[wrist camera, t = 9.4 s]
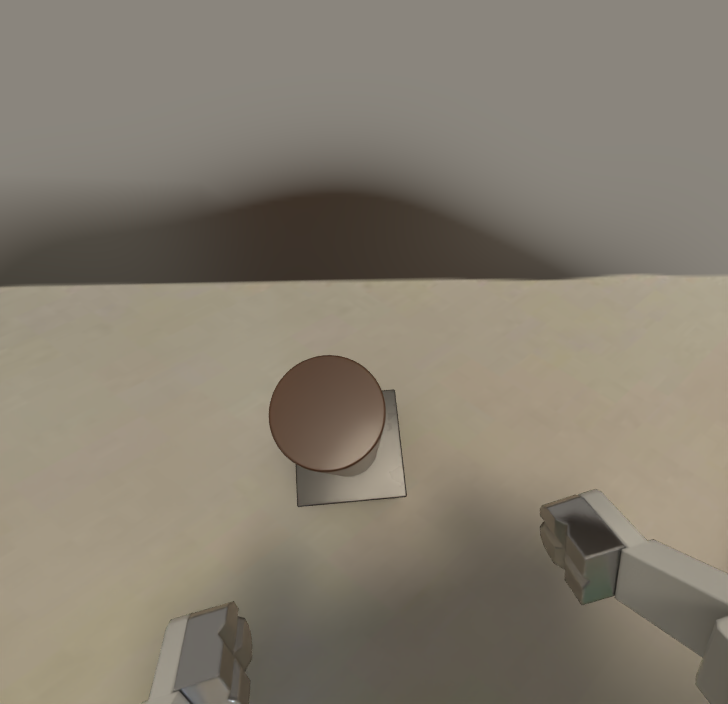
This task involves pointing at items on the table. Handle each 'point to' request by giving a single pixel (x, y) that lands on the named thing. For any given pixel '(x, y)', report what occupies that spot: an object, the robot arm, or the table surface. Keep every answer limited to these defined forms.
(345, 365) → the brush
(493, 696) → the table surface
